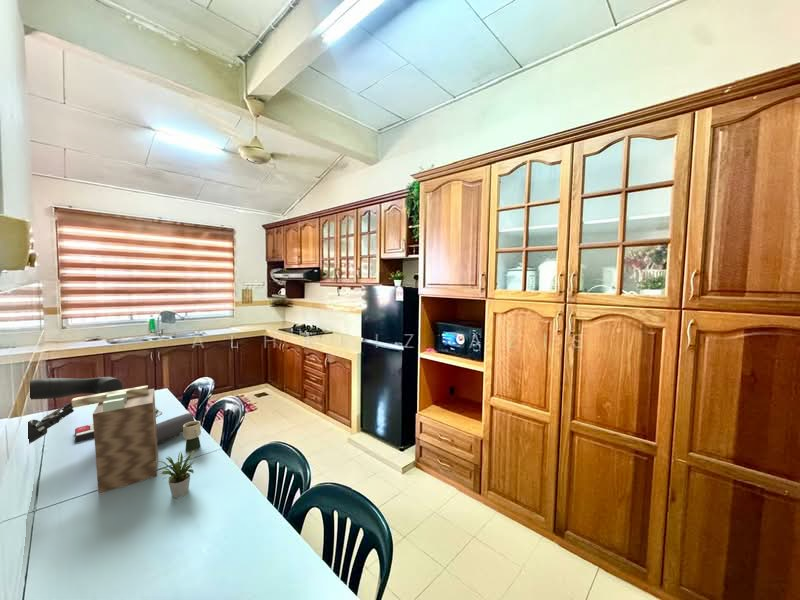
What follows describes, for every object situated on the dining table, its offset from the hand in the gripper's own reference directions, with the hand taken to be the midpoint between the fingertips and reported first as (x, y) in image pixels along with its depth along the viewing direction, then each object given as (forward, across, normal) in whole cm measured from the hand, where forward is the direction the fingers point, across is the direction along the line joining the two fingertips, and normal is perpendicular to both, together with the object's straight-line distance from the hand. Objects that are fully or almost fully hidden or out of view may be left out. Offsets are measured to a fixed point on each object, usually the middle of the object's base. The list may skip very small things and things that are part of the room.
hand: (74, 405), depth 127 cm
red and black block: (-21, +54, +26) cm, 63 cm away
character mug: (+18, -1, +48) cm, 51 cm away
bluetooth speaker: (+9, +20, +43) cm, 48 cm away
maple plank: (+10, 0, +6) cm, 12 cm away
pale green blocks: (+12, -11, +7) cm, 17 cm away
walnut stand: (-2, -6, +36) cm, 36 cm away
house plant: (+11, -36, +44) cm, 58 cm away
